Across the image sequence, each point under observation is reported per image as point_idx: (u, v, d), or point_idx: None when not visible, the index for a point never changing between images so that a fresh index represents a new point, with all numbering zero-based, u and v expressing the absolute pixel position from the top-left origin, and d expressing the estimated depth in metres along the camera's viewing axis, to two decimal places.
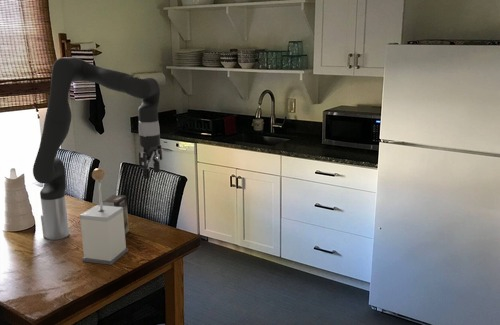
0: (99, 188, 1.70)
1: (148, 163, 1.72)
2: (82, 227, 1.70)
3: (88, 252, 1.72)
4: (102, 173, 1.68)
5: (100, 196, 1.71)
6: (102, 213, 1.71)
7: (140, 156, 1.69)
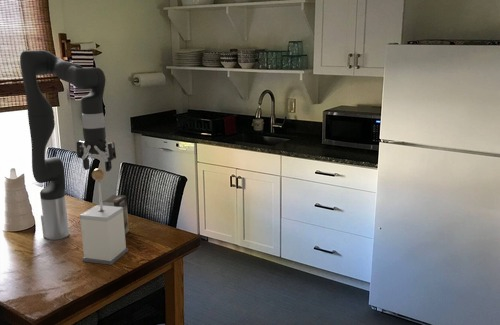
0: (99, 188, 1.70)
1: (109, 154, 1.68)
2: (82, 227, 1.70)
3: (88, 252, 1.72)
4: (102, 173, 1.68)
5: (100, 196, 1.71)
6: (102, 213, 1.71)
7: (112, 147, 1.65)
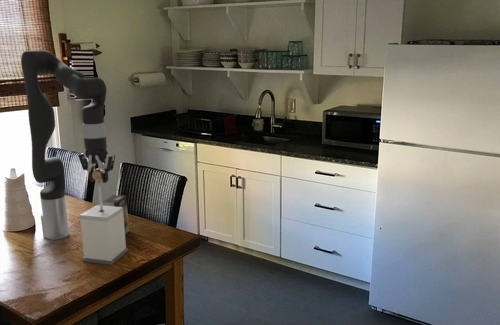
0: (99, 188, 1.70)
1: (107, 166, 1.69)
2: (82, 227, 1.70)
3: (88, 252, 1.72)
4: None
5: (100, 196, 1.71)
6: (102, 213, 1.71)
7: (112, 160, 1.66)
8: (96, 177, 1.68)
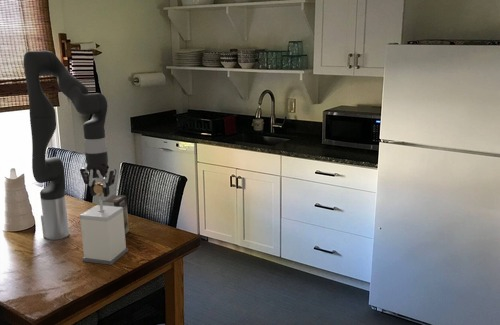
0: (100, 202, 1.72)
1: (108, 180, 1.70)
2: (82, 227, 1.70)
3: (88, 252, 1.72)
4: None
5: (101, 210, 1.72)
6: (102, 213, 1.71)
7: (113, 174, 1.67)
8: (97, 191, 1.69)
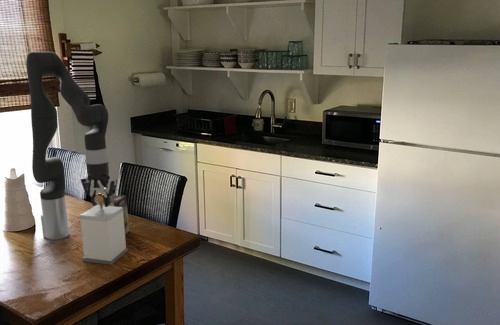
0: None
1: (109, 190, 1.71)
2: (82, 227, 1.70)
3: (88, 252, 1.72)
4: None
5: None
6: (102, 213, 1.71)
7: (114, 185, 1.68)
8: (98, 201, 1.70)
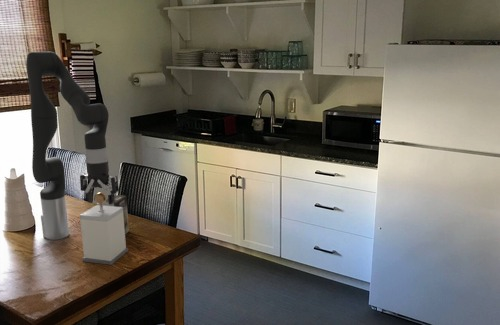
0: (101, 211, 1.73)
1: (112, 187, 1.71)
2: (82, 227, 1.70)
3: (88, 252, 1.72)
4: (104, 197, 1.71)
5: None
6: (102, 213, 1.71)
7: (115, 181, 1.68)
8: (98, 201, 1.70)
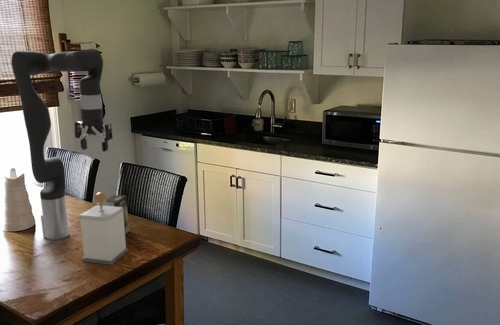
0: (101, 211, 1.73)
1: (106, 135, 1.73)
2: (82, 227, 1.70)
3: (88, 252, 1.72)
4: (104, 197, 1.71)
5: None
6: (102, 213, 1.71)
7: (108, 128, 1.70)
8: (98, 201, 1.70)
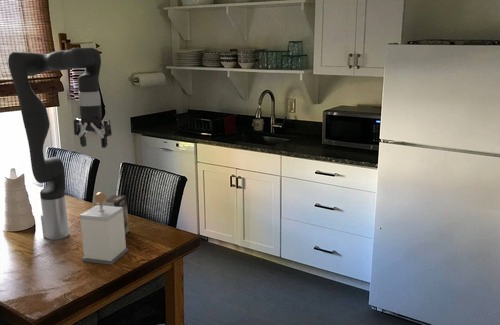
0: (101, 211, 1.73)
1: (105, 131, 1.75)
2: (82, 227, 1.70)
3: (88, 252, 1.72)
4: (104, 197, 1.71)
5: None
6: (102, 213, 1.71)
7: (107, 124, 1.72)
8: (98, 201, 1.70)
